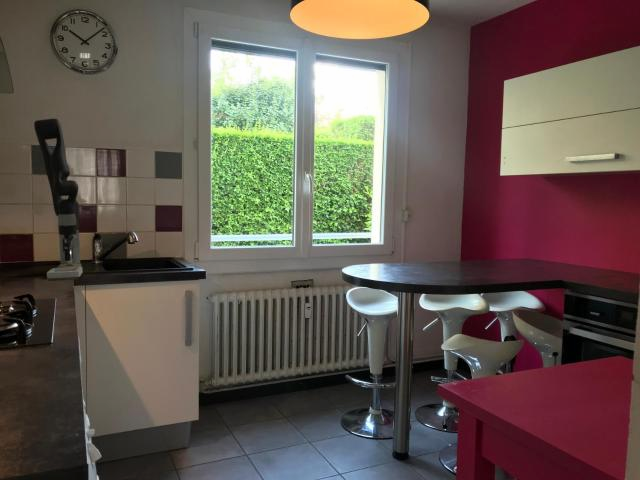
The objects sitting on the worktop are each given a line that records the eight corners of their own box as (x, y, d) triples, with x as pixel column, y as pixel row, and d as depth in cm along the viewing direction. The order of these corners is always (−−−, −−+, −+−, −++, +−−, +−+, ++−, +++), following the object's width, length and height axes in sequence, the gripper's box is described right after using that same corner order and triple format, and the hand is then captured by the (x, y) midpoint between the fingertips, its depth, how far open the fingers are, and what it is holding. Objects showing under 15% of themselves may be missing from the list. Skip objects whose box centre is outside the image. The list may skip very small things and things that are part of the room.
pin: (67, 270, 245) (65, 249, 243) (73, 270, 245) (72, 249, 244) (66, 271, 242) (65, 250, 241) (72, 271, 243) (71, 249, 242)
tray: (52, 275, 237) (52, 268, 236) (82, 274, 240) (82, 267, 240) (47, 280, 225) (46, 272, 224) (78, 279, 229) (78, 271, 228)
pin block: (60, 271, 247) (60, 264, 246) (81, 271, 250) (81, 263, 249) (57, 275, 238) (56, 267, 238) (78, 274, 241) (78, 266, 241)
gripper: (61, 222, 247) (62, 257, 249) (55, 225, 233) (57, 262, 235) (78, 222, 249) (79, 257, 251) (74, 225, 236) (75, 261, 238)
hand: (69, 259), depth 243 cm, fingers open, 7 cm apart
